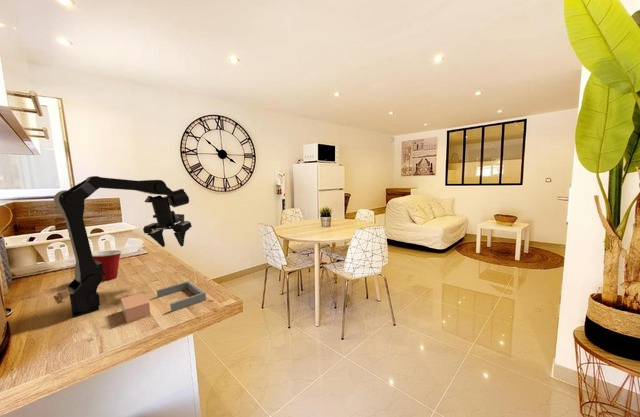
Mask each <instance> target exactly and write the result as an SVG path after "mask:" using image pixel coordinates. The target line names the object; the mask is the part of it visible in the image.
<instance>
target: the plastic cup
mask: <svg viewBox="0 0 640 417" xmlns="http://www.w3.org/2000/svg"><path fill="white" fill-rule="evenodd" d="M122 252H123V250H120V249H118V250H117V249H116V250H115V249H113V250H112V249H111V250H100V251H96V252H92V256H93V259H94V261H98V262H100V263H102V264H103V272H104V273H105V275H103V281H102V282H106V281H107V282H108V281H111V280H114V279H117V277H118V273H119V272H118V270H119V263H120V257H121V254H122Z"/></svg>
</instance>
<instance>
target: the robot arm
mask: <svg viewBox="0 0 640 417" xmlns="http://www.w3.org/2000/svg"><path fill="white" fill-rule="evenodd" d="M99 189H109V190H111V189H112V190H124V191H137V192H141V193H144V194H150V195H148V196H147V197H146V199H145V200H144V203H151V205H152V209H153V212H154V214H153V215H152V219H156V222H153V223H152V222H151V223H150V224H147V225H145V226H144V227H143V230H142V231H143V233H144V234H146V235H147V236H149V237H151V238H152V239H153V240H154V241H155V242H156V243H158V245H160V246H161V247H162V248H164V247H166V244H165V238H164V234H163V233H164V230H172V231H173V235H174V237H175V238H176V240H177V242H178V245H179V246H180V247H184V246H185V245H184V244H185V237H186V233H187V231H189V230H190V229H191V228H192V226H193V225H192V222H191V221H189V220H185V214H183V213H181V214H180V213H176V211H174V210H172V209H171V207H173V208H177V207H181V206H185V205H188V204H190V197H189V195H188V194H187V192H186V191H185V189H184V188H179V189H176V190H172V189H171V188H170V187H168V186H167V183H166V182H165V181H164V180H161V179H146V180H144V179H143V180H132V179H124V178H123V179H122V178H115V177H114V178H112V177H111V178H110V177H103V176H102V177H101V176H99V175H95V176H88V177H86V178H85V180H83V181H81V182H79V183H77V184H75V185H74V186H72V187H70V188H69V189H68V190H67V189H65V190H60V191H58V192H57V193H56V194H55V195H54V196H53V201H54V204H55V205H56V207H57V209H58V211H59V212H60V214H61V216H62V217H63V219H64V220H65V224H66V228H67V232H68V236H69V239H70V243H71V247H72V248H71V249H72V251H73V254H74V258H75V264H74V278H73V280H71V282H70V283H69V284H68V285H67V286H66V289H68V290H69V291H70V292H71V293H72V294H69V295H70V298H69V301H70V308H71V309H70V313H71V317H72V318H75V317H79V316H82V315H85V314H89V313H92V312H95V311H99V310H100V306H101V301H100V293H99V292H98V291H97V290H98V288H99V286H100V285H101V283H102V282H104V281H103V275H105V273H104V272H103V264H102V263H100V262H98V261H94V259H93V256H92V253H93V252H92V248H91V245H90V241H89V237H88V233H87V229H86V224H85V221H84V213H85V200H86V199H87V198H89V197H90V196H91V195H93V194H94V193H95V192H96V191H97V190H99ZM152 195H155V196H152Z"/></svg>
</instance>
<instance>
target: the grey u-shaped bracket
mask: <svg viewBox="0 0 640 417" xmlns="http://www.w3.org/2000/svg"><path fill="white" fill-rule="evenodd" d="M187 288H188V289H187ZM184 290H188V291H189V292H191V293H193V295H191V296H189V297H186V298H183V299H180V300H176V301H173V302H171V303H169V307H170V312H171V313H172V312H175V311H176V312H177V311H178V310H180V309H184V308H186V307H189V306H192V305H195V304H197V303H200V302H201V303H202V302H204V301H206V300H207V295H206V292H205V291H204V290H202V289H201V288H199V287H197V286H196V285H195V284H193V283H192V282H191V281H189V280H188V281H184V282H181V283H178V284H173V285H169V286H167V287H164V288H160V289H156V297H157V298H161V297H165V296H168V295H171V294H174V293H178V292H181V291H184ZM203 300H204V301H203Z"/></svg>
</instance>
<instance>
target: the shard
mask: <svg viewBox="0 0 640 417" xmlns="http://www.w3.org/2000/svg"><path fill="white" fill-rule="evenodd" d="M69 294H72V293H71V292H70V291H69V290H68V289H67V288H66V289H64V290H61V291H60V292H57V293H56V295H57V297H58V299H59V301H60V303H64V302H66V301H68V300H70V295H69Z"/></svg>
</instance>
